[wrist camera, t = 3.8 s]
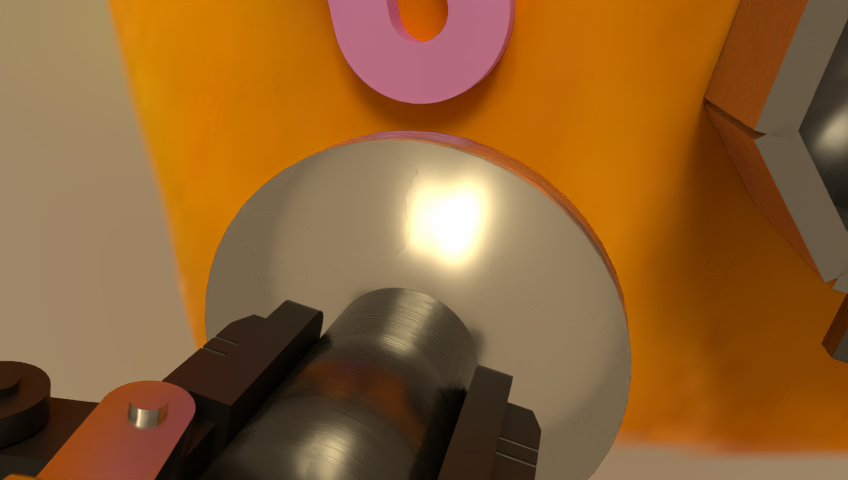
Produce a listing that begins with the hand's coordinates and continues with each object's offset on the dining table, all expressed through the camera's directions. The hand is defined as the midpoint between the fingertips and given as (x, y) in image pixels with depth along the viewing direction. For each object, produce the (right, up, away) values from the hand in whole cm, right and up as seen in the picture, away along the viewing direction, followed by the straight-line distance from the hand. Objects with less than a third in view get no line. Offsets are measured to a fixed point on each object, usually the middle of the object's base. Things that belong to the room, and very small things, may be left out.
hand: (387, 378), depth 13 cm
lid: (+1, +1, +2) cm, 2 cm away
